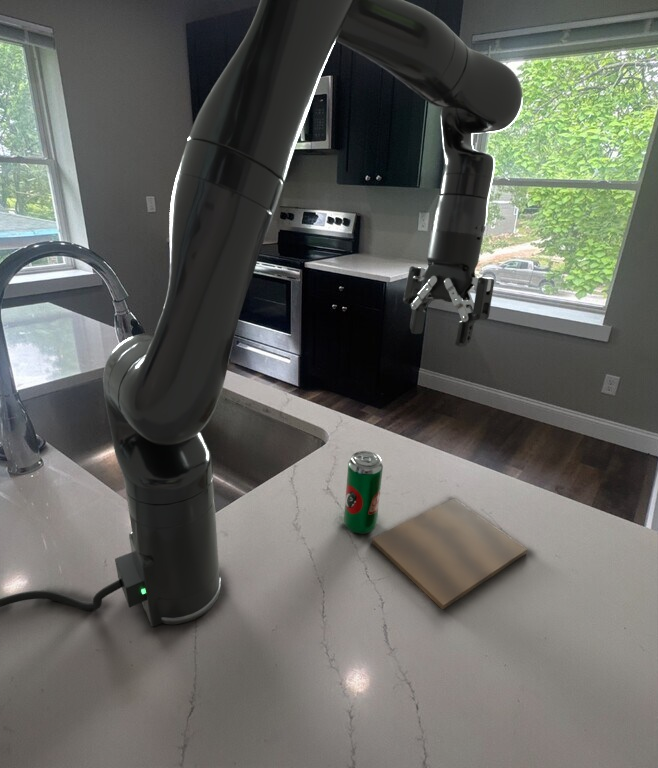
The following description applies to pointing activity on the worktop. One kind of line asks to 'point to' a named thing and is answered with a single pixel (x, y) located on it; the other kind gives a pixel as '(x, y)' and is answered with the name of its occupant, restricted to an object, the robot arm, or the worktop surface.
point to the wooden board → (448, 551)
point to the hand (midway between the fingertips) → (437, 339)
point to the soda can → (363, 492)
